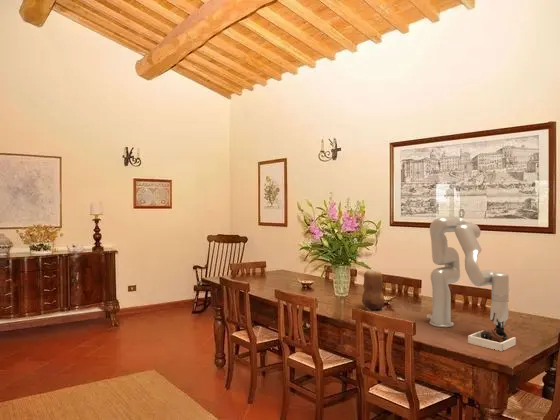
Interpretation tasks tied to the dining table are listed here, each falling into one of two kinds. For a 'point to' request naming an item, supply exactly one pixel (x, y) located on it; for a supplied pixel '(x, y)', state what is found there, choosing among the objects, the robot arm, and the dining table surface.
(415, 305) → the dining table surface
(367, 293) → the butternut squash
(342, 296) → the dining table surface
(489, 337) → the pottery mug
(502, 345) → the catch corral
